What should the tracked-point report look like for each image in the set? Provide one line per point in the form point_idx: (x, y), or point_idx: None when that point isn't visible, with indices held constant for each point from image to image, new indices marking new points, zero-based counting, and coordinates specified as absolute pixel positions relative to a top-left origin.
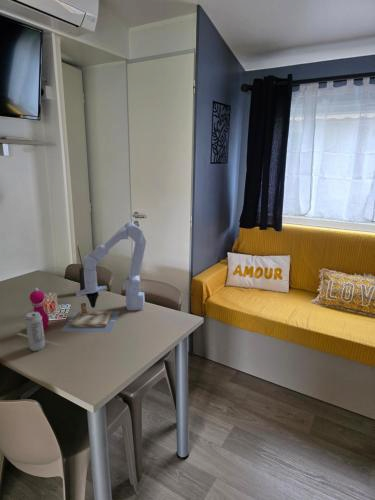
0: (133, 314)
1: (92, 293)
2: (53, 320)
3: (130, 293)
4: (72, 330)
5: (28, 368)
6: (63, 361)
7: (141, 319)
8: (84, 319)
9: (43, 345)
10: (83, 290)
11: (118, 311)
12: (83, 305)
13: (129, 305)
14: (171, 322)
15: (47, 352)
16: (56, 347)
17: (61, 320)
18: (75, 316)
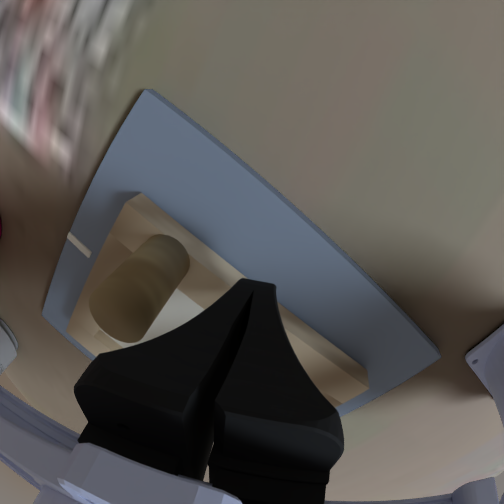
0: (457, 399)
1: (210, 478)
2: (15, 142)
3: (500, 500)
4: (87, 351)
5: (16, 384)
6: (78, 426)
7: (428, 442)
8: (152, 329)
9: (13, 359)
10: (13, 444)
11: (435, 354)
12: (116, 335)
13: (495, 398)
14: (452, 476)
15: (33, 373)
16: (50, 375)
17: (44, 172)
18: (92, 271)
